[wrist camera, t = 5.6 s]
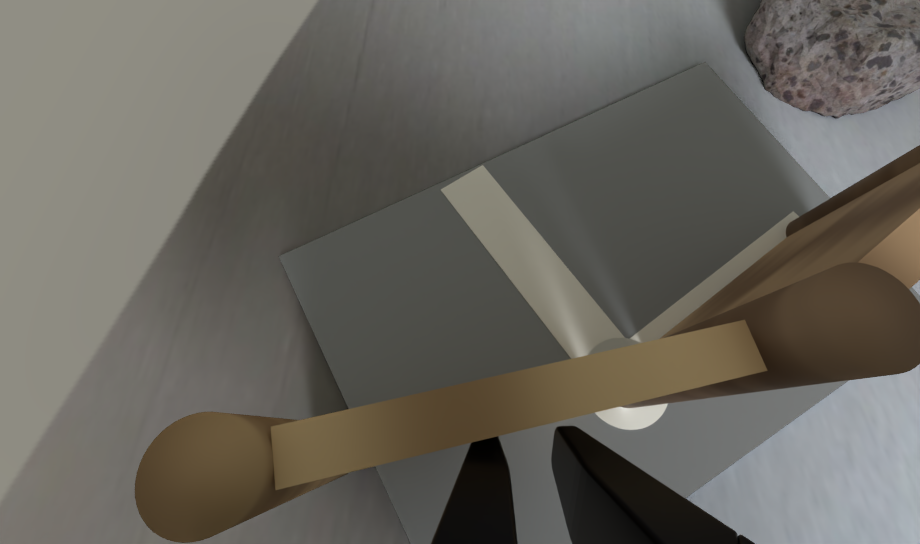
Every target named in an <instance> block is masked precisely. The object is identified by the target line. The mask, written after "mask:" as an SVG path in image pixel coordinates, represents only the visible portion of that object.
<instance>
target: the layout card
mask: <svg viewBox="0 0 920 544" xmlns="http://www.w3.org/2000/svg"><path fill="white" fill-rule="evenodd" d="M828 199H830V198H829V196H828V195H827V194H826V193H825V192H824V191H823V190H822V189H821V188H820V187H819V186H818V185H817V183H816V182H815V181H814V180H813V179H812V178H811V177H810V176H809V175H808V174H807V173H806V171H805V170H804V169H803V168H802V167H801V166H800V165H799V164H798V163H797V162H796V161H795V159H794V158H793V157H792V156H791V155H790V154H789V153H788V152H787V151H786V150H785V149H784V147H783V146H782V145H781V144H780V143H779V142H778V141H777V140H776V139H775V138H774V137H773V135H772V134H771V133H770V132H769V131H768V130H767V129H766V128H765V127H764V126H763V125H762V123H761V122H760V121H759V120H758V119H757V118H756V117H755V116H754V115H753V114H752V113H751V111H750V110H749V109H748V108H747V107H746V106H745V105H744V104H743V103H742V102H741V101H740V100H739V98H738V97H737V96H736V95H735V94H734V93H733V92H732V91H731V90H730V89H729V88H728V86H727V85H726V84H725V83H724V82H723V81H722V80H721V79H720V78H719V77H718V76H717V74H716V73H715V72H714V71H713V70H712V69H711V68H710V67H709V66H708V65H707V64H706V62H704V63H701V64H699V65H697V66H695V67H693V68H690V69H688V70H686V71H684V72H682V73H679V74H677V75H675V76H673V77H671V78H668V79H666V80H664V81H662V82H660V83H658V84H655V85H653V86H651V87H649V88H647V89H644V90H642V91H640V92H638V93H636V94H633V95H631V96H629V97H627V98H625V99H622V100H620V101H618V102H616V103H614V104H611V105H609V106H607V107H605V108H603V109H601V110H598V111H596V112H594V113H592V114H590V115H587V116H585V117H583V118H581V119H579V120H576V121H574V122H572V123H570V124H568V125H565V126H563V127H561V128H559V129H557V130H554V131H552V132H550V133H548V134H546V135H544V136H541V137H539V138H537V139H535V140H533V141H530V142H528V143H526V144H524V145H522V146H519V147H517V148H515V149H513V150H511V151H508V152H506V153H504V154H502V155H500V156H498V157H495V158H493V159H491V160H489V161H487V162H484V163H482V164H480V165H478V166H476V167H473V168H471V169H469V170H467V171H465V172H462V173H460V174H458V175H456V176H454V177H451V178H449V179H447V180H445V181H443V182H441V183H438V184H436V185H434V186H432V187H430V188H427V189H425V190H423V191H421V192H419V193H416V194H414V195H412V196H410V197H408V198H405V199H403V200H401V201H399V202H397V203H394V204H392V205H390V206H388V207H386V208H384V209H381V210H379V211H377V212H375V213H373V214H370V215H368V216H366V217H364V218H362V219H359V220H357V221H355V222H353V223H351V224H348V225H346V226H344V227H342V228H340V229H338V230H335V231H333V232H331V233H329V234H327V235H324V236H322V237H320V238H318V239H316V240H313V241H311V242H309V243H307V244H305V245H302V246H300V247H298V248H296V249H294V250H291V251H289V252H287V253H285V254H283V255H281V256H279V258H280V261H281V263H282V265H283V267H284V269H285V272H286V274H287V276H288V278H289V280H290V282H291V285H292V287H293V289H294V291H295V293H296V296H297V298H298V300H299V302H300V304H301V306H302V309H303V311H304V313H305V315H306V317H307V319H308V322H309V324H310V326H311V328H312V330H313V333H314V335H315V337H316V339H317V341H318V343H319V346H320V348H321V350H322V352H323V354H324V356H325V359H326V361H327V363H328V365H329V367H330V370H331V372H332V374H333V376H334V378H335V380H336V383H337V385H338V387H339V389H340V391H341V394H342V396H343V398H344V400H345V402H346V404H347V407H348V409H351V408H356V407H360V406H365V405H369V404H374V403H378V402H382V401H387V400H391V399H396V398H400V397H405V396H409V395H413V394H418V393H422V392H427V391H431V390H436V389H440V388H444V387H449V386H453V385H458V384H462V383H467V382H471V381H475V380H480V379H484V378H489V377H493V376H498V375H502V374H506V373H511V372H515V371H520V370H524V369H529V368H533V367H537V366H542V365H546V364H551V363H555V362H560V361H564V360H568V359H573V358H577V357H582V356H586V355H591V354H595V353H599V352H604V351H608V350H613V349H617V348H622V347H626V346H630V345H635V344H639V343H644V342H648V341H653V340H657V339H660V338H661V337H662V336H664V335H665V334H666V333H667V332H669V331H670V330H671V329H672V328H674V327H675V326H676V325H677V324H679V323H680V322H681V321H682V320H684V319H685V318H686V317H687V316H689V315H690V314H691V313H692V312H694V311H695V310H696V309H697V308H699V307H700V306H701V305H702V304H704V303H705V302H706V301H707V300H709V299H710V298H711V297H712V296H714V295H715V294H716V293H718V292H719V291H720V290H721V289H723V288H724V287H725V286H726V285H728V284H729V283H730V282H731V281H733V280H734V279H735V278H736V277H738V276H739V275H740V274H741V273H743V272H744V271H745V270H746V269H748V268H749V267H750V266H751V265H753V264H754V263H755V262H756V261H758V260H759V259H760V258H761V257H763V256H764V255H765V254H766V253H768V252H769V251H770V250H772V249H773V248H774V247H775V246H777V245H778V244H779V243H780V242H782V241H783V240H784V239H785V238H787V237H786V228H787V225H788V224H789V223H790V222H791V221H793V220H795V219H796V218H798V217H800V216H801V215H803V214H805V213H807V212H808V211H810V210H812V209H813V208H815V207H817V206H818V205H820V204H822V203H823V202H825V201H827V200H828ZM909 290H910V291H911V292H912V293H913V295H914V296H915V297H916V299H917V300H918V302H919V303H920V296H919V295H918V293H917V292H916V291H915V290H914V289H913V288H912V287H911V288H910V289H909ZM847 381H849V380H847ZM847 381H839V382H831V383H823V384H815V385H808V386H800V387H792V388H784V389H776V390H769V391H761V392H753V393H745V394H737V395H730V396H722V397H714V398H706V399H699V400H691V401H683V402H675V403H667V404H660V405H652V406H644V407H636V408H623V407H616V408H612V409H608V410H604V411H599V412H595V413H591V414H587V415H583V416H579V417H575V418H571V419H567V420H562V421H558V422H554V423H550V424H546V425H542V426H538V427H534V428H530V429H525V430H521V431H517V432H513V433H509V434H505V435H501V436H498V437H499V440H500V442H501V445H502V448H503V451H504V454H505V456H506V459H507V462H508V465H509V469H510V475H511V484H512V493H513V503H514V513H515V522H516V532H517V541H518V544H572V542H571V539H570V536H569V532H568V529H567V525H566V521H565V517H564V513H563V509H562V506H561V502H560V498H559V494H558V490H557V486H556V482H555V478H554V475H553V470H552V464H551V455H552V447H553V438H554V431H555V429H556V427H558V426H576V427H578V428H580V429H581V430H583V431H584V432H586V433H587V434H589V435H590V436H592V437H593V438H595V439H596V440H598V441H599V442H601V443H602V444H604V445H605V446H607V447H608V448H610V449H611V450H613V451H614V452H616V453H617V454H619V455H620V456H622V457H623V458H625V459H626V460H628V461H630V462H631V463H633V464H634V465H636V466H637V467H639V468H640V469H642V470H643V471H645V472H646V473H648V474H649V475H651V476H652V477H654V478H655V479H657V480H658V481H660V482H661V483H663V484H664V485H666V486H667V487H669V488H670V489H672V490H673V491H675V492H676V493H678V494H679V495H681V496H682V497H684V498H687V497H688V496H689V495H691V494H692V493H693V492H695V491H696V490H698V489H699V488H700V487H702V486H703V485H705V484H706V483H707V482H709V481H710V480H711V479H713V478H714V477H716V476H717V475H718V474H720V473H721V472H723V471H724V470H725V469H727V468H728V467H729V466H731V465H732V464H734V463H735V462H736V461H738V460H739V459H741V458H742V457H743V456H745V455H746V454H747V453H749V452H750V451H752V450H753V449H754V448H756V447H757V446H759V445H760V444H761V443H763V442H764V441H766V440H767V439H768V438H770V437H771V436H772V435H774V434H775V433H777V432H778V431H779V430H781V429H782V428H784V427H785V426H786V425H788V424H789V423H790V422H792V421H793V420H795V419H796V418H797V417H799V416H800V415H802V414H803V413H804V412H806V411H807V410H808V409H810V408H811V407H813V406H814V405H815V404H817V403H818V402H820V401H821V400H822V399H824V398H825V397H826V396H828V395H829V394H831V393H832V392H833V391H835V390H836V389H838V388H839V387H840V386H842V385H843V384H845V383H846V382H847ZM470 444H471V443H468V444H464V445H460V446H456V447H451V448H447V449H443V450H439V451H435V452H431V453H427V454H423V455H419V456H414V457H410V458H406V459H402V460H398V461H394V462H390V463H386V464H382V465H377V466H375V468H376V470H377V472H378V474H379V476H380V478H381V481H382V483H383V485H384V487H385V489H386V492H387V494H388V496H389V498H390V500H391V502H392V505H393V507H394V509H395V511H396V513H397V515H398V518H399V520H400V522H401V524H402V526H403V529H404V531H405V533H406V535H407V537H408V539H409V542H410V544H431V542H432V539H433V537H434V534H435V532H436V529H437V527H438V524H439V522H440V519H441V517H442V514H443V512H444V509H445V507H446V504H447V502H448V499H449V497H450V494H451V492H452V489H453V487H454V484H455V482H456V479H457V477H458V474H459V472H460V469H461V467H462V464H463V462H464V459H465V457H466V454H467V452H468V449H469V447H470Z"/></svg>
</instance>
